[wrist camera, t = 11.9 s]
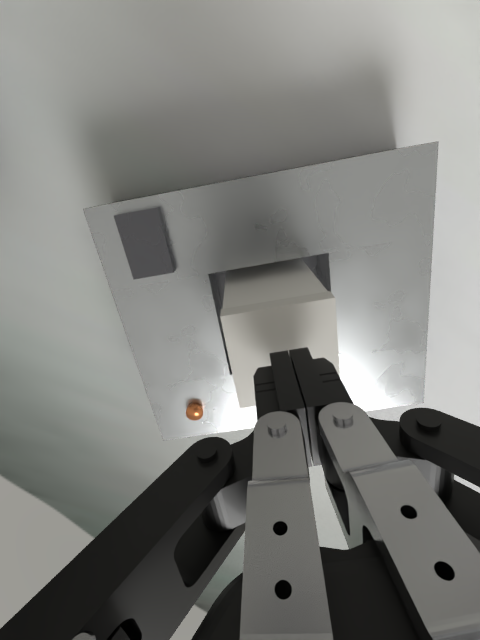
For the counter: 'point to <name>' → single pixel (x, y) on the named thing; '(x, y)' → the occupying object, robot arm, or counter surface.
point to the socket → (267, 247)
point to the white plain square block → (275, 319)
